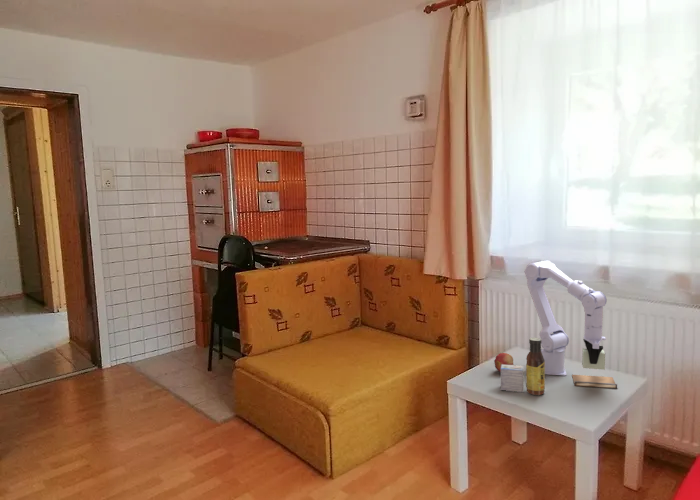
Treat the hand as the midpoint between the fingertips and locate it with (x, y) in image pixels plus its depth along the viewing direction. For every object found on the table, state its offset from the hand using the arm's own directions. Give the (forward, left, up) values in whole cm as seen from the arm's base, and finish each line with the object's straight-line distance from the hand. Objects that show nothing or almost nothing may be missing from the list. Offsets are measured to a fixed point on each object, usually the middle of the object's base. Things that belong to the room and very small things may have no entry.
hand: (592, 361), depth 183 cm
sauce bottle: (-20, -10, -10) cm, 24 cm away
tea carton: (0, 0, -2) cm, 2 cm away
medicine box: (-28, -9, -10) cm, 31 cm away
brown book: (+1, +3, -9) cm, 10 cm away
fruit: (-31, +6, -10) cm, 33 cm away
